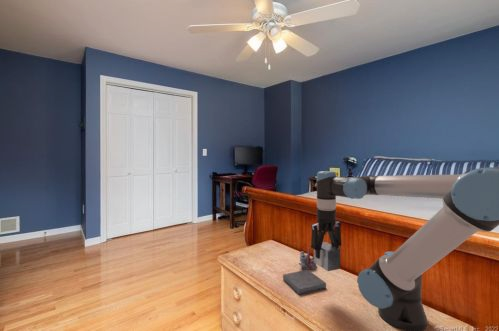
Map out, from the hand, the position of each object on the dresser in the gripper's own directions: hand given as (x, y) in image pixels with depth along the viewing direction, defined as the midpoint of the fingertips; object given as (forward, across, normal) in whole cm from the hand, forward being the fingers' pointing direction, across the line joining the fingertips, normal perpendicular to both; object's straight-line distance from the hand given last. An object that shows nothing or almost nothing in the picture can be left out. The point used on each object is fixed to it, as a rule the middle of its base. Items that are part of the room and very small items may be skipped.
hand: (326, 264), depth 101 cm
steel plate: (+14, +2, -13) cm, 20 cm away
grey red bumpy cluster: (+14, -10, -28) cm, 33 cm away
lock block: (0, 0, 0) cm, 0 cm away
